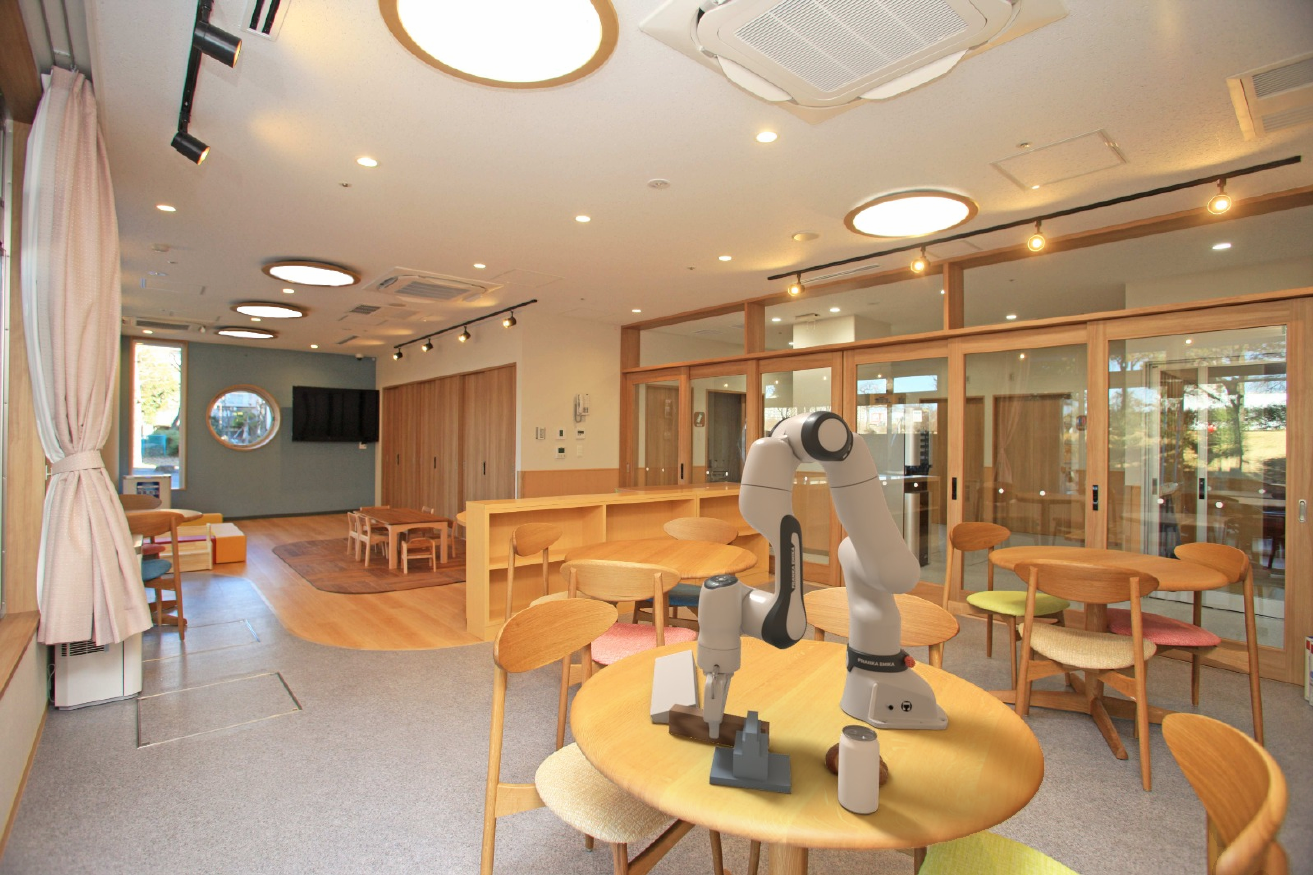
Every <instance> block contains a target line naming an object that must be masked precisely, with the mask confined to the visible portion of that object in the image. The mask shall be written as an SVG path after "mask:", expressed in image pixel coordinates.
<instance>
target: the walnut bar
mask: <svg viewBox="0 0 1313 875" xmlns="http://www.w3.org/2000/svg"><path fill="white" fill-rule="evenodd" d="M745 718H747V716H746V717H745V716H741V715H734V714H731V713H725V712H724V714H723V719H722V722H721V723H720V724H719V737H718V738H711V737H710V736H709V723H708V722H705V721H704V720H703V708H700V707H699V708H695V707H690V706H685V705H680V704H674V705H673V706H672V708H671V709H670V710H669V723H668V734H671V733H672V735H675V734H677V735H676V736H680V737H685V738H689V737H692V738H691V739H694V738H696V739H695V740H698V739H700V740H699V741H703V740H704V741H703V742H708V743H712V742H714V744H717V743H719V745H723V746H726V747H731V746H732V747H731V748H734V745H735V738H736V731H737V730H738V731H743V729H744V720H745ZM760 720H761V732H760V733H765V734H769V735H768V748H769V747H770V721H767V720H762V719H760Z"/></svg>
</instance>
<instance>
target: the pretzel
mask: <svg viewBox="0 0 1313 875" xmlns="http://www.w3.org/2000/svg"><path fill="white" fill-rule="evenodd" d="M824 762H825V767H826V768H827V770H828V771H829V772H830V773H831V774H833V775H835V776H836V777H837V776H838V772H839V742H838V743H835V744H833V746H830V747H829V748H828V750H827V752H826V753H825V755H824ZM888 771H889V768H888V765H887V763H886V762H885V761H884V760H883V757H882V756H881V755H880V759H879V787H882V786H884V785H885V784H886V783H887V781H888V779H889V778H888Z"/></svg>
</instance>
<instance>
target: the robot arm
mask: <svg viewBox="0 0 1313 875" xmlns="http://www.w3.org/2000/svg"><path fill="white" fill-rule="evenodd" d="M815 462H816V463H817V462H818V463H819V464H820V465H821V467H822V469H823V470H824V472H825V478H826V480H827V486H828V488H829V491H830V495H831V499H832V502H833V503H832V504H833V506H834V510H835V512H836V516H837V520H838V521H839V523H840V524H841V526H842V527H843V529H844V530H845V532H846V534H847V536H846V537H845V538H844V539H842V541H841V542H840V544H839V545H838V549H837V557H838V562H839V564H840V566H841V569H842V574H843V579H844V584H845V590H846V596H847V602H848V603H847V604H848V611H849V612H848V615H849V616H848V620H849V621H848V623H849V624H848V627H849V628H848V643H847V644H846V650H845V668H846V677H845V678H846V679H845V685H844V688H843V693H842V697H841V700H840V703H839V707H840V708H841V709H842V711H844V712H845V713H846V714H847V715H849V716H851V717H854V718H855V719H858V720H861V721H864V722H865V723H867V724H869V725H871V726H873V727H874V728H877V729H898V730H899V729H902V730H903V729H905V730H907V729H908V730H945V729H947V728H948V727H949V718H948V716H947V713H946V711H945V710H944V709H943V708H942V707H941V706H940V705H939V704H938V703H937V698H936V695H935V692H934V690H933V688H932V686H931V685H930V684H929V683H928V682H927V681H926V680H925V679H924V678H923V677H921V676H920V675H919V674H918V673H917V672H915V671H914V670H913V668H915V666H916V660H915V659H914V658H913V657H912V656H910V654H909V653H908V651H906V650H905V649H904V648H901V645H902V644H901V643H902V642H901V640H902V639H901V638H902V637H901V636H902V631H901V630H902V616H901V611H900V610H899V607H898V605H897V603H896V600H895V596H894V595H903V594H906V593H908V592H912V590H913V589H914V588H916V586H917V585H918V583H919V581H920V579H921V570H922V569H921V565H920V562H919V560H918V558H917V557H916V556H915V555H914V553H913V552H912V551H911V550H910V548H909V546H908V545H907V543H906V541H905V539H904V538H903V535H902V534H901V531H900V530H899V527H898V525H897V524H896V522H895V520H894V518H893V516H892V514H891V511H890V509H889V507H888V504H887V500H886V497H885V494H884V490H883V487H882V482H881V479H880V476H879V473H878V469H877V466H876V463H875V461H874V458H873V457H872V453H871V452H870V449H869V447H868V445H867V443H866V441H865V439H864V437H863V436H862V435H860V434H859V433H857V432H854V431H851V429H850V427H849V425H848V423H847V422H846V421H845V419H844V418H843V417H841V416H840V415H839V414H837V413H835V412H832V411H827V410H818V411H808V412H807V411H806V412H802V413H799V414H797V415H793V416H787V417H785V418H783V419H781V420H779V421H777V422H776V424H774V426H772V428H771V430H770V431H769V434H767V436H765V437H761V438H759V439H756V440H755V441H754V442H752V444H751V445H750V448H749V449H748V453H747V456H746V459H745V464H744V467H743V469H742V470H743V471H742V475H741V482H740V488H739V493H738V494H739V495H738V508H739V512H740V514H741V517H742V518H743V519H744V522H746V523H747V524H748V525H749V527H751V528H752V529H753V530H754V531H756V532H757V533H759V534H761V536H762V537H764V538H765V539H766V540H767V542H769V544H770V545H771V547H772V550H773V554H774V574H775V575H774V584H775V585H774V588H775V589H774V593H772V592H769V591H766V590H762V589H760V588H755V587H753V586H750V585H747V584H745V583H743V582H742V581H740V579H739V578H738V577H737V576H735V575H732V574H715V575H713V576H709V577H708V578H706V579H705V580H703V583H702V584H701V588H700V592H699V597H698V598H699V599H698V607H697V608H698V610H697V611H698V613H697V621H698V622H697V623H698V625H699V633H698V636H697V640H696V641H697V642H696V645H697V646H696V665H697V667H698V668H699V669H701V670H702V674H703V676H705V677H706V679H705V682H704V686H703V688H704V689H703V690H704V691H703V703H702V704H703V706H702V707H703V708H702V709H703V720H704V721H705V722H708V723H709V736H710V737H711V738H718V737H719V724H720V723H721V722H722V719H723V714H724V713H725V710H726V705H727V700H728V695H729V690H730V686H731V681H732V678H733V677H734V676H735V672H738V671H739V670H740V669H741V666H742V663H741V661H742V660H741V659H742V658H741V657H742V640H741V636H742V635H747V636H749V637H750V638H751V637H752V638H754V639H757V640H760V641H763V642H765V643H766V644H768V645H771V646H772V647H775V648H776V649H779V650H786V649H789V648H792V647H793V646H795V645H796V644H798V643H799V642H800V641H801V640H802V639H803V637H804V636H805V633H806V631H807V627H808V617H807V612H806V606H805V599H804V597H805V596H804V558H803V557H804V553H803V551H804V550H803V549H804V547H803V545H804V544H803V533H802V527H801V524H800V522H799V520H798V519H797V518H796V517H795V513H794V510H793V508H794V507H793V498H792V497H793V489H794V488H793V487H794V479H795V478H794V477H795V473H796V472H797V469H798V467H799V466H800V464H813V463H815Z"/></svg>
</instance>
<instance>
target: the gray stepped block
mask: <svg viewBox="0 0 1313 875" xmlns="http://www.w3.org/2000/svg"><path fill="white" fill-rule="evenodd" d="M761 720H762V719H759V711H756V710H747V714H746V718H745V720H744V729H743V731H738V730H737V731H736V738H735V745H734V747H722V746H714V751H713V752H714V753H713V757H712V761H711V766H710V767H711V768H710V772H709V781H708V782H709V784H711V783H712V784H713V785H720V786H726V787H727V786H728V787H735V788H744V789H752V790H759V791H767V792H773V793H782V794H783V793H784V794H791V793H792V792H791V791H792V782H791V780H792V779H791V778H792V777H791V758H790V754H786V753H785V754H784V753H775V752H769V747H768V735H769V736H770V733H769V734H765V733H760V732H761Z"/></svg>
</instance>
